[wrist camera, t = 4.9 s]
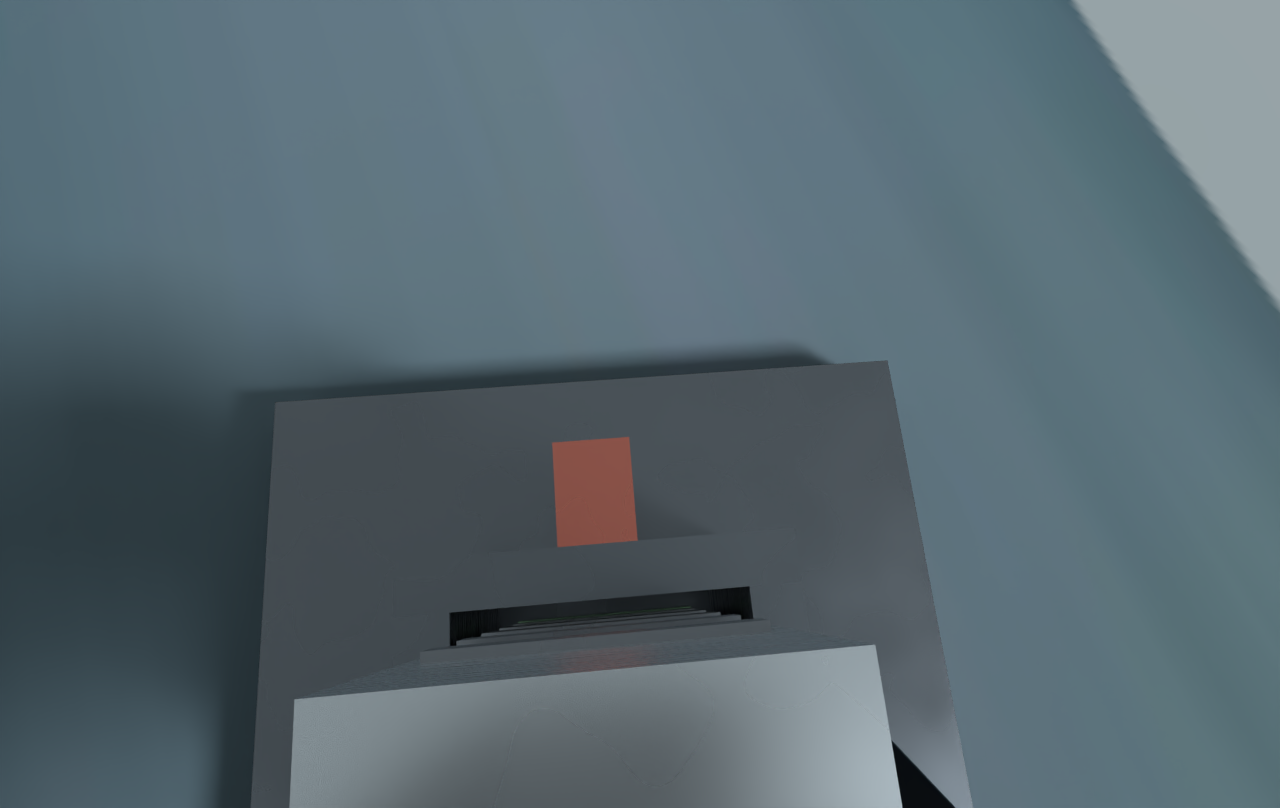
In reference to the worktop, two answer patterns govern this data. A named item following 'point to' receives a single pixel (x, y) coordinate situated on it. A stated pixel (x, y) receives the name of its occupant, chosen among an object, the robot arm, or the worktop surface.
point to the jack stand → (597, 530)
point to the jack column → (607, 720)
